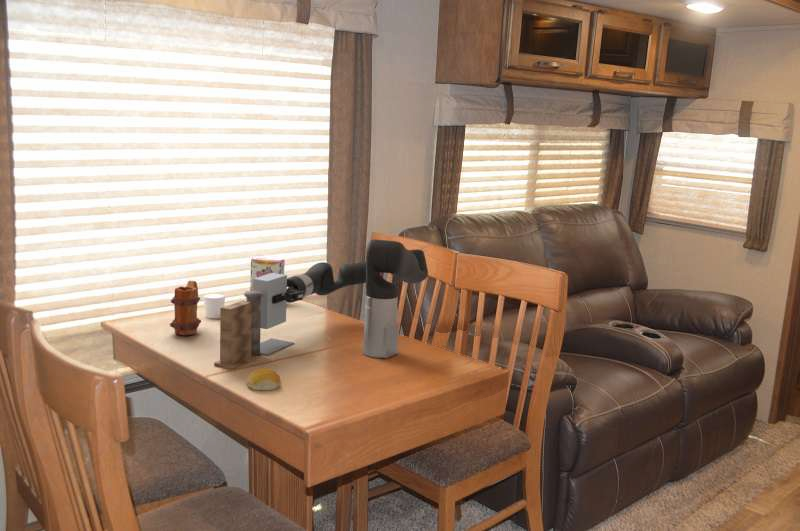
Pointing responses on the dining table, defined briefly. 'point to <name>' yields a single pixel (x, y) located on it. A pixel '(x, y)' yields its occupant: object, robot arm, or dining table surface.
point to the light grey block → (270, 288)
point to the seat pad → (273, 346)
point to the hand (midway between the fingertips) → (264, 298)
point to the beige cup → (213, 305)
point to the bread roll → (264, 380)
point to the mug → (186, 309)
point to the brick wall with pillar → (240, 331)
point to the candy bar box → (265, 267)
